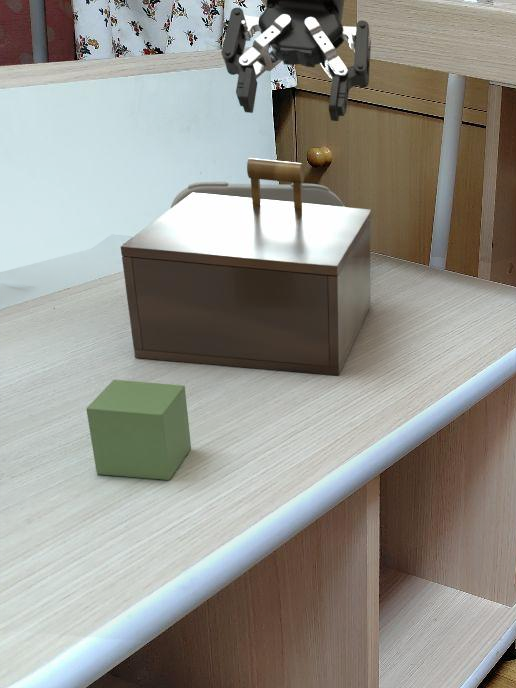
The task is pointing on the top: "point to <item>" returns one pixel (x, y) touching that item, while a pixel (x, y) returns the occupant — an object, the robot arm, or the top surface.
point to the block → (139, 429)
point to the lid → (255, 228)
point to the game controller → (263, 192)
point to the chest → (248, 313)
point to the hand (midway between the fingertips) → (289, 111)
